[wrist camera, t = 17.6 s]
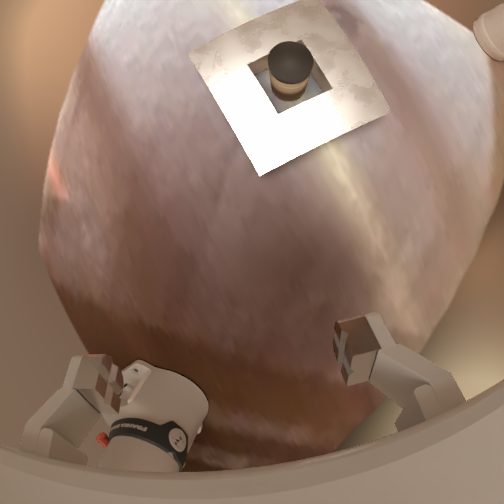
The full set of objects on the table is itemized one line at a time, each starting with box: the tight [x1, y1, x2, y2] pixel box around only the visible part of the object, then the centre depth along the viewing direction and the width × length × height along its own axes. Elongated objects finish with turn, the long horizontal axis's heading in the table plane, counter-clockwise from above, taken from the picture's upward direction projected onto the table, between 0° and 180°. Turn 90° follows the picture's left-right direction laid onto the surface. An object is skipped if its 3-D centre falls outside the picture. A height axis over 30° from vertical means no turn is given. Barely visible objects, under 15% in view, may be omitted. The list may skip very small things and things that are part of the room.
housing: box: [188, 0, 391, 176], centre depth 29 cm, size 16×16×5 cm
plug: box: [268, 41, 314, 101], centre depth 27 cm, size 4×4×10 cm
